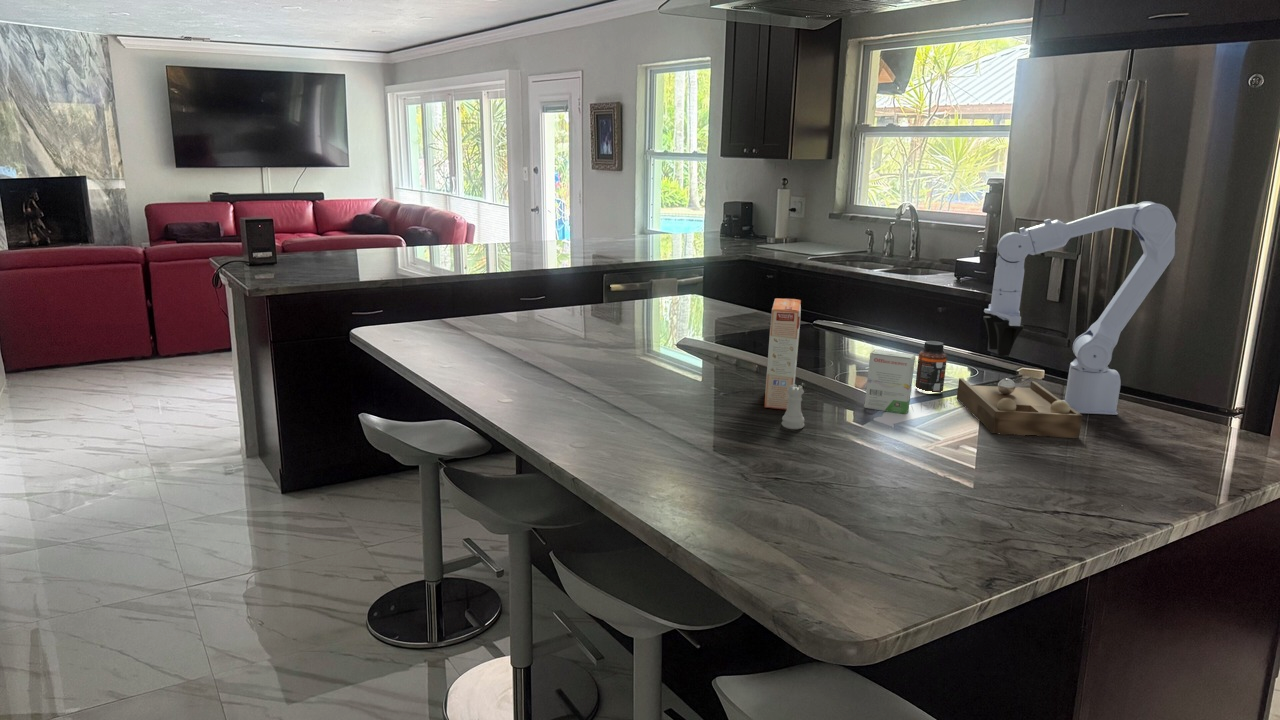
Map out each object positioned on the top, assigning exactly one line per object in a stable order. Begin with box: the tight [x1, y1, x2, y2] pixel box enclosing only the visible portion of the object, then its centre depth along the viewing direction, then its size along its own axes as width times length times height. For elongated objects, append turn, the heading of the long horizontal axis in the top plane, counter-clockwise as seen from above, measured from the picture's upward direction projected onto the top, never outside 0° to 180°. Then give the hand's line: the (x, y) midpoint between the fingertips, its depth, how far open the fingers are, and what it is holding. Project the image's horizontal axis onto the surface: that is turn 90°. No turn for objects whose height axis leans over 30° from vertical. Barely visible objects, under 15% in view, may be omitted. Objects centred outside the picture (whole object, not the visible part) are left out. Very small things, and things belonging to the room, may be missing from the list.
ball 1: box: [997, 398, 1016, 411], centre depth 165 cm, size 3×3×3 cm
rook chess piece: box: [781, 384, 805, 430], centre depth 164 cm, size 4×4×8 cm
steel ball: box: [997, 378, 1016, 395], centre depth 179 cm, size 3×3×3 cm
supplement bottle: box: [914, 340, 948, 392], centre depth 190 cm, size 6×6×11 cm
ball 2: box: [1050, 399, 1070, 414], centre depth 164 cm, size 3×3×3 cm
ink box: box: [864, 349, 916, 415], centre depth 177 cm, size 9×5×12 cm, turn 65°
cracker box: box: [764, 297, 802, 411], centre depth 179 cm, size 14×6×21 cm, turn 168°
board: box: [956, 377, 1083, 439], centre depth 174 cm, size 16×24×4 cm, turn 176°
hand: (998, 352), depth 185 cm, fingers open, 5 cm apart
